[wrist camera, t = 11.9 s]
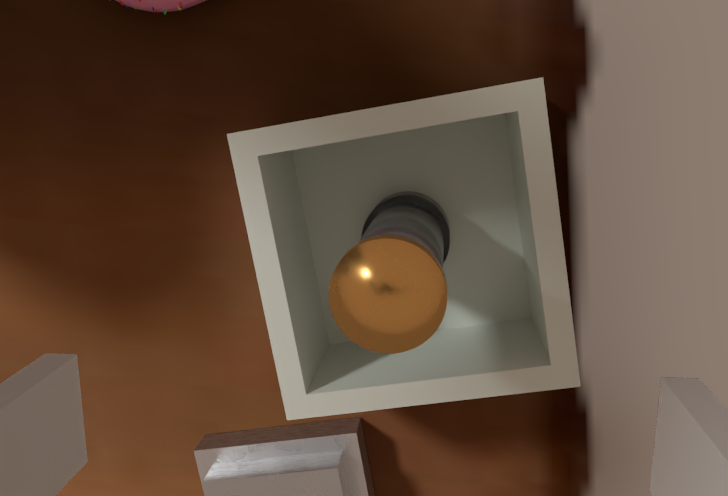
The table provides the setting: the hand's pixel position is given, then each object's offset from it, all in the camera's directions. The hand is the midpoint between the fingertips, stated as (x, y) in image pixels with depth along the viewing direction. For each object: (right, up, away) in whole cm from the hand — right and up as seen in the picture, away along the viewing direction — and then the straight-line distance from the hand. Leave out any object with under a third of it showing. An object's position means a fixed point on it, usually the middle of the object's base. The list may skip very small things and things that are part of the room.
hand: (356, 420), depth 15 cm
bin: (+3, +5, +24) cm, 24 cm away
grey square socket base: (-4, -12, +28) cm, 31 cm away
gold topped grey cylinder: (+3, +5, +23) cm, 23 cm away
